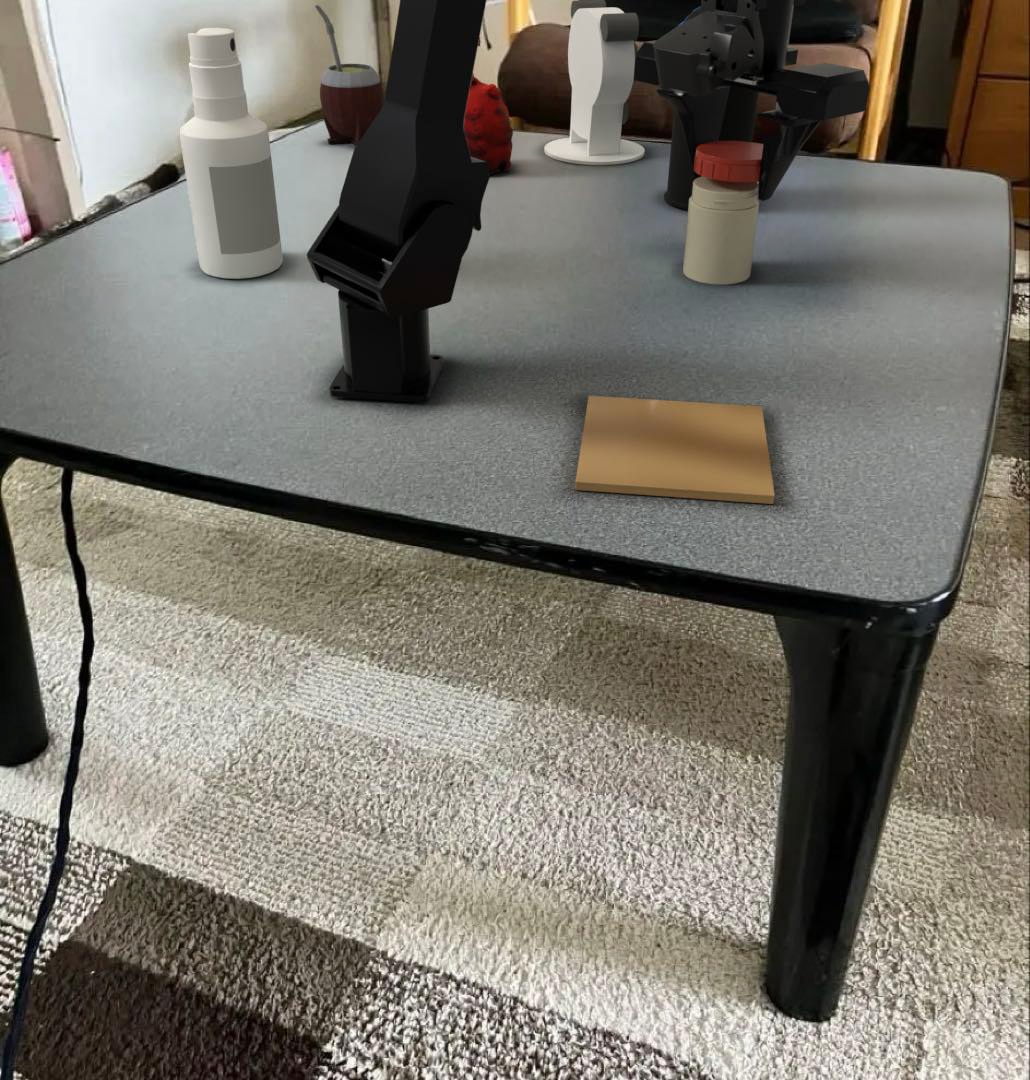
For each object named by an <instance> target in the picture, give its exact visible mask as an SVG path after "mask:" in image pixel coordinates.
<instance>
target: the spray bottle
mask: <svg viewBox="0 0 1030 1080" xmlns="http://www.w3.org/2000/svg"><path fill="white" fill-rule="evenodd" d="M187 39H188V47H189V54H190V55H189V61H190V62H189V63H188V68H189V75H190V82H191V89H192V93H191V97H192V104H193V110H194V116H193V117H191V118H190V119H189V120H187V122H185V123H184V124H182V125H181V127H180V128H179V140H180V147H181V154H182V159H183V167H184V174H185V179H186V185H187V186H186V187H187V192H188V198H189V205H190V211H191V212H190V213H191V218H192V224H193V230H194V236H195V243H196V249H197V255H198V262H199V263H198V264H199V267H200V269H201V271H202V272H204V274H206V275H208V276H212V277H215V278H220V279H233V280H234V279H235V280H236V279H237V280H241V279H250V278H251V279H253V278H256V277H261V276H264V275H265V276H266V275H267V274H268V275H269V274H270V273H273V272H274V271H276V270H278V269H279V268H280V267H281V265H282V264H283V262H284V261H283V260H284V259H283V249H282V241H281V232H280V231H281V230H280V223H279V215H278V205H277V195H276V188H275V186H276V185H275V179H274V177H275V176H274V170H273V169H274V168H273V161H272V150H271V142H270V141H271V140H270V134H269V133H270V132H269V129H268V127H267V124H266V123H265V122H264V121H262V120H260V118H257V117H255V116H253V115H252V114H250V113H249V108H248V101H247V93H246V90H245V86H244V77H243V76H244V75H243V69H242V67H243V66H242V61H240V60H239V55H238V52H237V45H236V36H235V31H234V30H233V29H231V28H225V27H202V28H200V29H199V30H197V31H196V32H189V33H188V32H187Z"/></svg>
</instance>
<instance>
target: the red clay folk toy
mask: <svg viewBox="0 0 1030 1080" xmlns="http://www.w3.org/2000/svg"><path fill="white" fill-rule="evenodd" d="M478 47H481V37H480V38H479V43H478ZM464 133H465V137H466V141H467V145H468V149H469V153H470V157H473V158H477V159H480V160H483V161H486V162H488V164H489V175H490V174H497V173H499V172H507V171H509V170H510V169H511V167H512V162H511V158H512V151H513V141H512V138H513V134H514V130H513V127H512V125H511V118H510V113H509V109H508V107H507V105H506V104H505V103H504V100H503V91H502V90H501V88H499V87H497V85H496V84H495V83H489V84H488V83H484V82H482V81H481V80H480V79H478V78H477V77H476V76H475V75H474V73H473V75H472V80H471V85H470V91H469V96H468V101H467V107H466V112H465V118H464Z"/></svg>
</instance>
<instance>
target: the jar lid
mask: <svg viewBox="0 0 1030 1080" xmlns="http://www.w3.org/2000/svg"><path fill="white" fill-rule="evenodd" d="M763 144H764V143H763ZM763 144H762V143H757V142H753V141H752V142H743V141H715V142H708V143H703V144H701V145H699V146H697V148H696V154H695V164H694V171H695V172H696V173H697V174H699V175H701V176H703V177H706V178H710V179H714V180H719V181H726V182H743V183H744V182H757V183H759V174H760V167H761V159H762V152H763Z"/></svg>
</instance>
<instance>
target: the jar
mask: <svg viewBox="0 0 1030 1080" xmlns="http://www.w3.org/2000/svg"><path fill="white" fill-rule="evenodd" d="M758 184H759V182H744V183H743V182H726V181H719V180H714V179H710V178H706V177H703V176H702V177H699V178H697V179H695V180H694V181H693V189H692V196H691V197H690V198H689V205H688V210H687V217H686V229H685V240H684V250H683V251H684V253H683V264H682V273H683V275H684V276H685V277H687V278H688V279H690V280H692V281H695V282H699V283H702V284H709V285H719V286H723V285H725V286H726V285H735V284H739V283H742V282H745V281H747V280H748V279H749V278H750V277H751V274H752V264H753V257H754V249H755V241H756V235H757V233H756V232H757V225H758V218H759V209H760V200H759V199H758Z"/></svg>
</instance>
